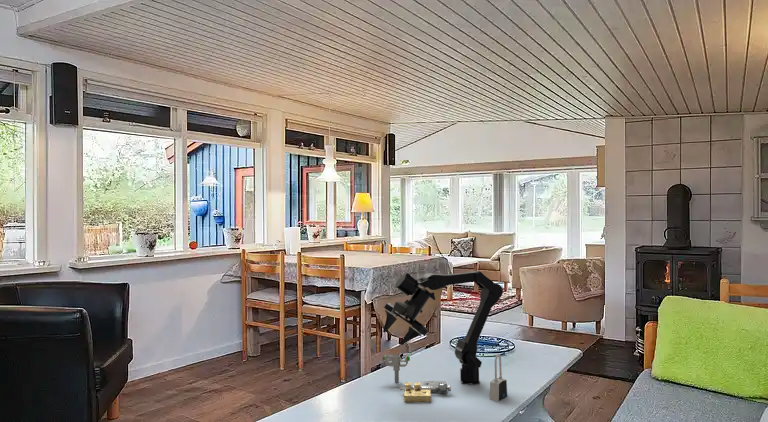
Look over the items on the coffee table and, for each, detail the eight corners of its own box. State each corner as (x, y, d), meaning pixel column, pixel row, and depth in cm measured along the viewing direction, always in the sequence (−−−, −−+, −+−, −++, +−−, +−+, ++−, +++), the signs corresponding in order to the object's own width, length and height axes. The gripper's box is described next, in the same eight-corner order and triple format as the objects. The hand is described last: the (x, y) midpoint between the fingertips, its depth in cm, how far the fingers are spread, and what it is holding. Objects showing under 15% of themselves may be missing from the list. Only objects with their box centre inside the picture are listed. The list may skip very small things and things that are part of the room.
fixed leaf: (449, 386, 214) (449, 376, 214) (451, 395, 204) (450, 385, 204) (401, 386, 215) (401, 377, 215) (400, 395, 205) (400, 385, 205)
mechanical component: (409, 383, 219) (408, 357, 219) (382, 382, 221) (382, 356, 221) (410, 381, 222) (410, 355, 222) (384, 380, 224) (383, 354, 224)
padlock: (499, 401, 196) (498, 357, 196) (488, 399, 199) (487, 355, 199) (508, 396, 201) (507, 353, 201) (497, 394, 204) (497, 351, 204)
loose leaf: (430, 392, 207) (429, 382, 207) (430, 401, 197) (430, 391, 197) (405, 392, 208) (404, 382, 208) (404, 401, 198) (404, 391, 198)
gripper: (389, 283, 214) (364, 318, 211) (425, 306, 202) (399, 343, 199) (402, 295, 222) (379, 329, 220) (438, 317, 210) (413, 353, 207)
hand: (392, 338), depth 211 cm, fingers open, 9 cm apart
